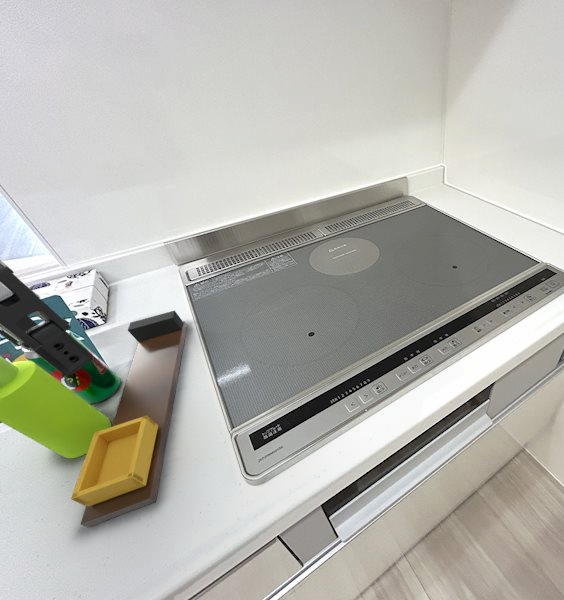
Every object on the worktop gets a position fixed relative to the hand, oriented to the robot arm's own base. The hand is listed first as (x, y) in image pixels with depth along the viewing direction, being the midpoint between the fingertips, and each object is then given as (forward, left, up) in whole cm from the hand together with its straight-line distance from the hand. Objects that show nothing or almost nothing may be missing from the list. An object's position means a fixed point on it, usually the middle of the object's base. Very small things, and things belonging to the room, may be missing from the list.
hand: (54, 351), depth 30 cm
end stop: (+18, +15, -19) cm, 30 cm away
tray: (-3, +3, -18) cm, 19 cm away
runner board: (+6, +8, -20) cm, 22 cm away
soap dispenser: (0, +14, -20) cm, 24 cm away
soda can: (+7, +17, -20) cm, 27 cm away
